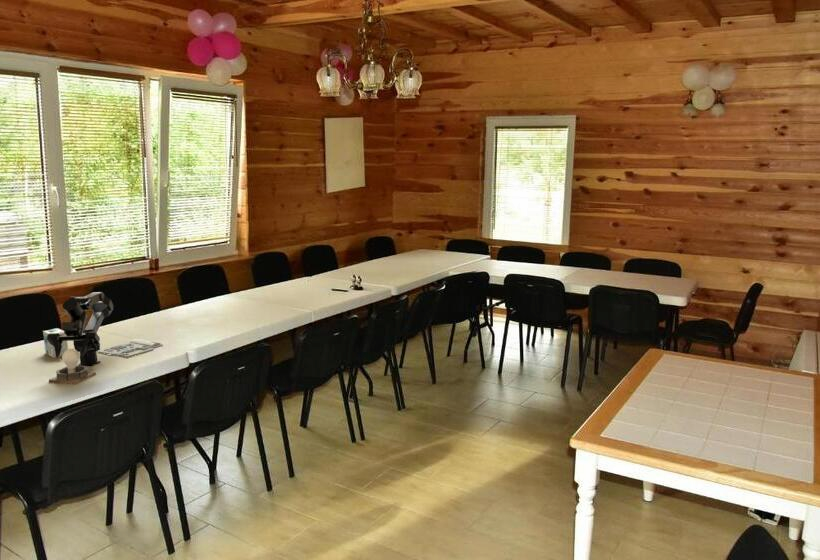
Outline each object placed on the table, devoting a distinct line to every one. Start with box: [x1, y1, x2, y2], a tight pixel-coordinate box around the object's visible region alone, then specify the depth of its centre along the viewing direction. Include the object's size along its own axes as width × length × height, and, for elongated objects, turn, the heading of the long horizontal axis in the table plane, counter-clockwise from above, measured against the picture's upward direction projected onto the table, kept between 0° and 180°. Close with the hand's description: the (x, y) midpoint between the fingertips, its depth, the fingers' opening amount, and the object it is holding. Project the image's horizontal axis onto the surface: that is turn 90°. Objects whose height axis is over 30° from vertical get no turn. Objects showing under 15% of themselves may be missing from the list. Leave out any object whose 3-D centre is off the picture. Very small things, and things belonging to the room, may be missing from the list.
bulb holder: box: [48, 364, 97, 385], centre depth 260 cm, size 12×12×4 cm
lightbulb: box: [61, 348, 80, 374], centre depth 259 cm, size 6×6×11 cm
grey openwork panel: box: [96, 338, 164, 359], centre depth 299 cm, size 23×3×20 cm
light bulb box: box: [42, 327, 69, 359], centre depth 292 cm, size 11×7×11 cm, turn 47°
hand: (69, 357), depth 257 cm, fingers open, 9 cm apart
